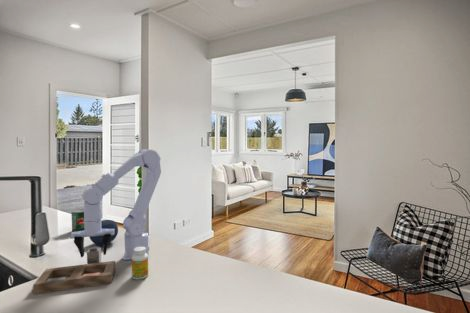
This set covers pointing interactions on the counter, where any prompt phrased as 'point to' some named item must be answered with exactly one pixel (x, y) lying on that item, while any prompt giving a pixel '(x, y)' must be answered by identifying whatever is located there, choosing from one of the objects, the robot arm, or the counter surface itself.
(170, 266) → the counter surface
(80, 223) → the canned tomato
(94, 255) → the plug
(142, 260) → the supplement bottle
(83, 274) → the socket board
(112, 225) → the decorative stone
